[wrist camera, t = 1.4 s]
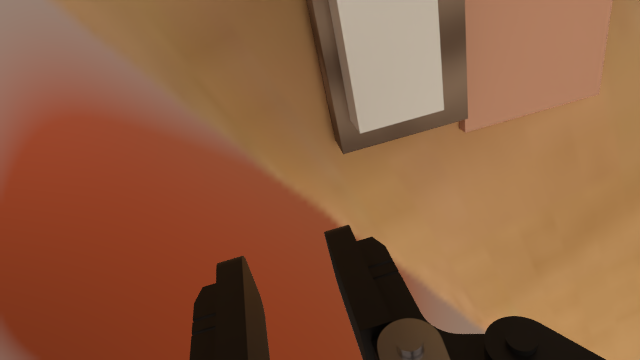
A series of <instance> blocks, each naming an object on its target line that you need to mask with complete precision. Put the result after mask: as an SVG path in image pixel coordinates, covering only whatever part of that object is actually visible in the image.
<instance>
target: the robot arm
mask: <svg viewBox="0 0 640 360" xmlns="http://www.w3.org/2000/svg"><path fill="white" fill-rule="evenodd" d="M324 234H325V238H326V242H327V246H328V249H329V253H330V257H331V261H332V265H333V269H334V273H335V276H336V280H337V283H338V286H339V290H340V293H341V295H342V299H343V302H344V305H345V308H346V311H347V313H348V317H349V319H350V322H351V325H352V328H353V331H354V334H355V337H356V340H357V343H358V346H359V349H360V352H361V355H362V358H363V360H605V359H604V358H602V357H600V356H598V355H596V354H595V353H593V352H591V351H589V350H587V349H586V348H584V347H582V346H580V345H578V344H577V343H575V342H573V341H571V340H569V339H568V338H566V337H564V336H562V335H560V334H559V333H557V332H555V331H553V330H551V329H550V328H548V327H546V326H544V325H542V324H541V323H539V322H537V321H534V320H532V319H529V318H525V317H519V316H509V317H504V318H501V319H498V320H496V321H494V322H493V323H492V324H491V325H490V326H489V327H488V328H487V330H486V332H485V334H453V333H448V332H445V331H442V330H439V329H437V328H436V327H434V326H432V325H431V324H430V323H429V322H427V321H426V319H425V318H424V317H423V315H422V314H421V312H420V311H419V308H418V307H417V305H416V303H415V301H414V299H413V297H412V295H411V293H410V292H409V290H408V288H407V286H406V284H405V282H404V281H403V278H402V277H401V275H400V273H399V272H398V269H397V267H396V265H395V264H394V262H393V260H392V258H391V256H390V254H389V252H388V250H387V249H386V247H385V246H384V245H383V244H381V243H380V242H379V241H377V240H376V239H374V238H373V237H369V238H366V239H363V240H359V241H356V239H355V237H354V235H353V233H352V230H351V228H350V226H349V225H346V226H343V227H339V228H336V229H332V230H329V231H326V232H324ZM190 360H270V358H269V348H268V339H267V331H266V322H265V314H264V308H263V304H262V301H261V297H260V294H259V292H258V289H257V287H256V284H255V281H254V279H253V276H252V274H251V272H250V269H249V267H248V264H247V261H246V259H245V258H244V256H241V257H237V258H234V259H231V260H227V261H224V262H221V263H218V264H217V269H216V283H215V284H212V285H208V286H205V287H203V288H202V290H201V291H200V293H199V295H198V297H197V299H196V301H195V303H194V313H193V325H192V337H191V351H190Z"/></svg>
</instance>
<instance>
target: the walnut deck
mask: <svg viewBox="0 0 640 360" xmlns="http://www.w3.org/2000/svg"><path fill="white" fill-rule="evenodd" d="M306 1H307V6H308V11H309V16H310V20H311V25H312V30H313V35H314V40H315V44H316V49H317V54H318V59H319V63H320V68H321V73H322V78H323V82H324V87H325V92H326V97H327V102H328V106H329V111H330V116H331V121H332V125H333V130H334V135H335V140H336V142H337V144H338V146H339V147H340V149H341V151H342V153H343V154H345V153H349V152H352V151H356V150H359V149H363V148H366V147H370V146H373V145H377V144H380V143H384V142H387V141H391V140H394V139H398V138H402V137H405V136H409V135H412V134H416V133H419V132H423V131H426V130H430V129H433V128H437V127H440V126H444V125H447V124H451V123H454V122H458V121H461V120H465V119H468V97H467V60H466V22H465V0H438V13H439V31H440V48H441V65H442V82H443V99H444V110H442V111H439V112H435V113H432V114H428V115H425V116H421V117H418V118H414V119H410V120H407V121H403V122H400V123H396V124H393V125H389V126H386V127H382V128H378V129H375V130H371V131H368V132H364V133H361V134H360V133H359V131H358V130H357V129H356V127H355V126H354V124H353V123H352V122H351V120H350V115H349V110H348V104H347V99H346V93H345V88H344V82H343V77H342V72H341V66H340V61H339V55H338V50H337V44H336V39H335V34H334V28H333V23H332V17H331V12H330V6H329V1H328V0H306Z"/></svg>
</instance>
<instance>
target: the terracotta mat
mask: <svg viewBox="0 0 640 360" xmlns="http://www.w3.org/2000/svg"><path fill="white" fill-rule="evenodd" d="M612 1H613V0H465V22H466V60H467V97H468V119H465V120H461V121H459V128H460V129H461V130H463V131H464V132H465V133H466V132H469V131H473V130H476V129H480V128H483V127H487V126H490V125H494V124H497V123H501V122H504V121H508V120H511V119H515V118H518V117H522V116H525V115H529V114H532V113H536V112H539V111H543V110H546V109H550V108H553V107H557V106H560V105H564V104H567V103H571V102H574V101H578V100H581V99H585V98H588V97H592V96H595V95H599V92H600V85H601V78H602V71H603V64H604V57H605V50H606V43H607V36H608V29H609V22H610V15H611V8H612Z"/></svg>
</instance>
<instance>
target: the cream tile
mask: <svg viewBox="0 0 640 360" xmlns="http://www.w3.org/2000/svg"><path fill="white" fill-rule="evenodd" d="M328 1H329V6H330V12H331V17H332V23H333V28H334V34H335V39H336V44H337V50H338V55H339V61H340V66H341V72H342V77H343V82H344V88H345V93H346V99H347V104H348V110H349V115H350V120H351V122H352V123H353V124H354V126H355V127H356V129H357V130H358V131H359V133H360V134H361V133H364V132H368V131H371V130H375V129H378V128H382V127H386V126H389V125H393V124H396V123H400V122H403V121H407V120H410V119H414V118H418V117H421V116H425V115H428V114H432V113H435V112H439V111H442V110H444V99H443V82H442V65H441V48H440V31H439V13H438V0H328Z"/></svg>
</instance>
